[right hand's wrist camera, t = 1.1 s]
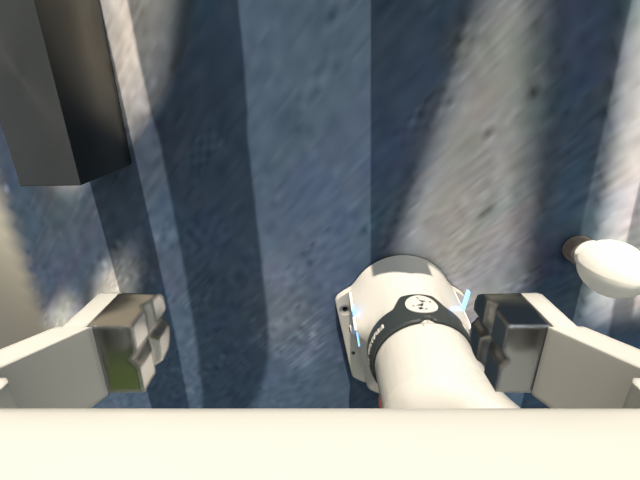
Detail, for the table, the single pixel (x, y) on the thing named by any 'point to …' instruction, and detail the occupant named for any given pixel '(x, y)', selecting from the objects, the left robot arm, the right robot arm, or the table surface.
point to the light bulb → (606, 265)
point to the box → (59, 93)
